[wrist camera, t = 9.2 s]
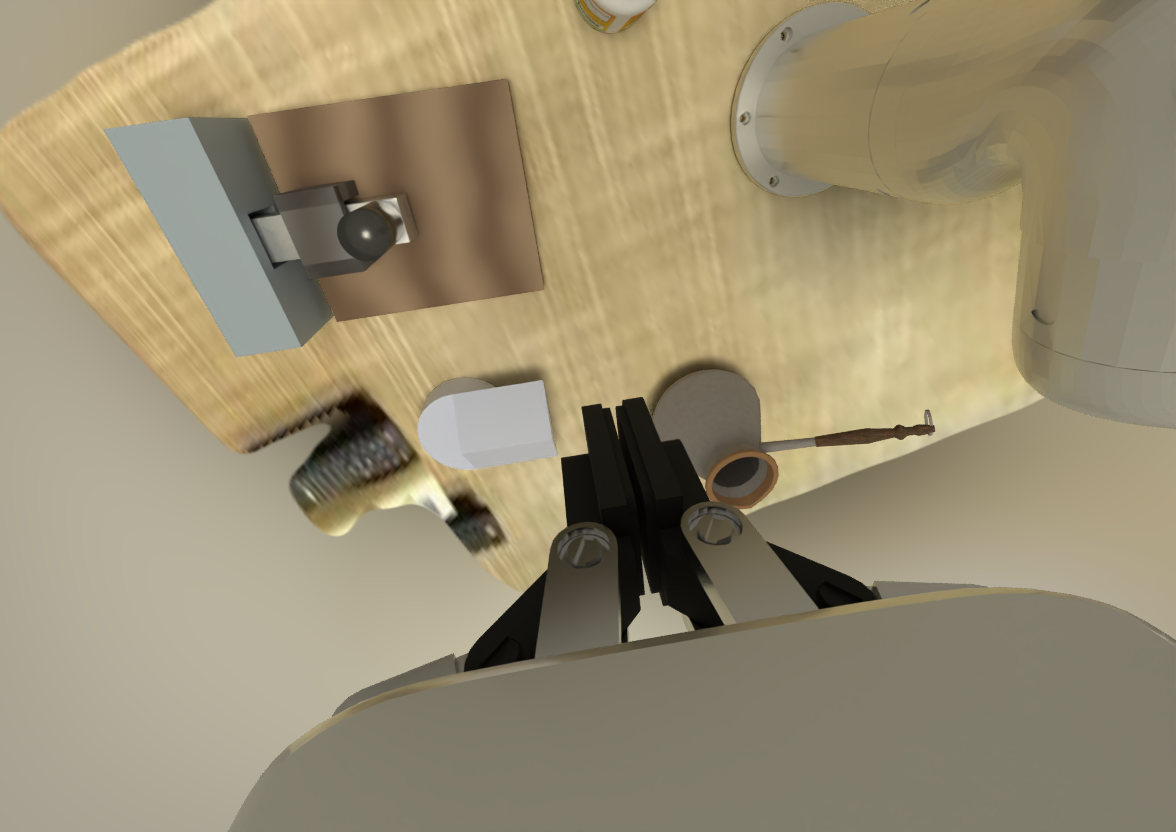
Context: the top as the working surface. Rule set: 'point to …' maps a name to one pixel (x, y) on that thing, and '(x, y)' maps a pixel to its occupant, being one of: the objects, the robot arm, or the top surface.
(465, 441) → the wedge on round base
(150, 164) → the block
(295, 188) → the door panel
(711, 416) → the coffee pot
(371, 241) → the bolt
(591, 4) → the supplement bottle
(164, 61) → the top surface
